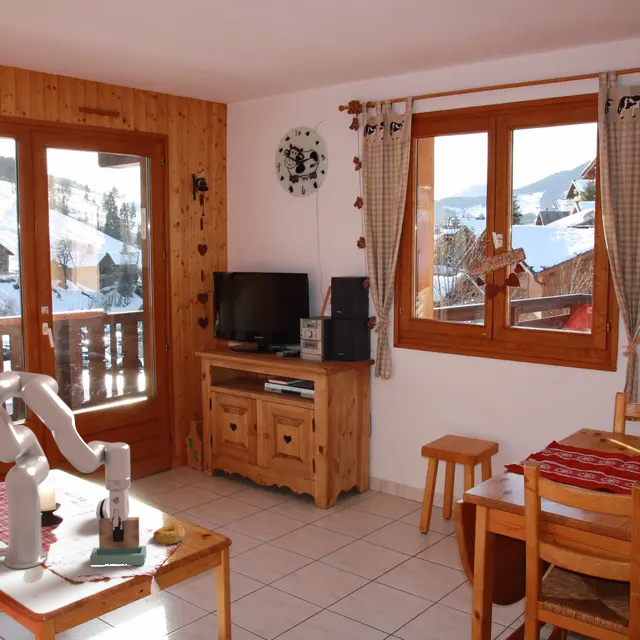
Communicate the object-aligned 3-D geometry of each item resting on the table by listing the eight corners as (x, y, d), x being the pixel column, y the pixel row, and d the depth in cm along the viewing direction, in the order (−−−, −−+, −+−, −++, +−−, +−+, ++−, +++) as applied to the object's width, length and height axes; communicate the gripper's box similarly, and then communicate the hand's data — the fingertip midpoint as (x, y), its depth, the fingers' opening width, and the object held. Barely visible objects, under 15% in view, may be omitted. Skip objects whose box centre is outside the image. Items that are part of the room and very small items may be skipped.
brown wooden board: (99, 549, 233) (98, 521, 232) (100, 545, 236) (100, 518, 235) (138, 547, 235) (138, 520, 234) (139, 544, 238) (138, 517, 237)
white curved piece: (116, 532, 259) (106, 506, 258) (103, 536, 259) (93, 510, 258) (125, 514, 276) (115, 489, 275) (112, 518, 276) (103, 494, 275)
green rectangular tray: (90, 567, 232) (90, 556, 231) (93, 558, 238) (93, 547, 238) (144, 565, 234) (144, 554, 233) (146, 556, 241) (146, 545, 240)
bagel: (165, 531, 261) (165, 518, 261) (190, 537, 257) (190, 524, 256) (146, 541, 253) (146, 528, 252) (172, 548, 248) (172, 535, 247)
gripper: (127, 491, 226) (128, 549, 228) (133, 474, 242) (134, 528, 244) (101, 491, 225) (102, 550, 227) (109, 474, 241) (110, 529, 243)
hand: (119, 538), depth 235 cm, fingers closed on brown wooden board, 2 cm apart
